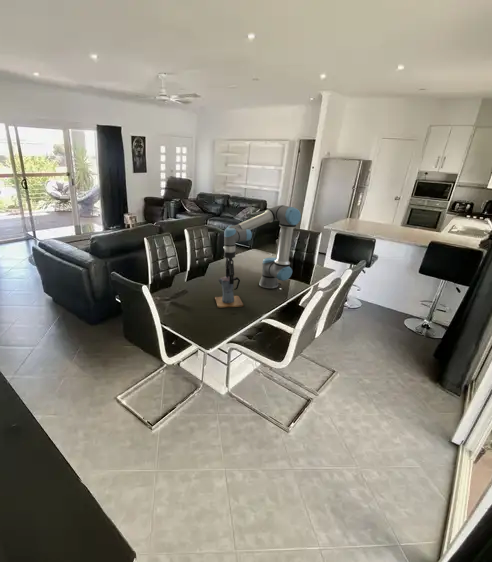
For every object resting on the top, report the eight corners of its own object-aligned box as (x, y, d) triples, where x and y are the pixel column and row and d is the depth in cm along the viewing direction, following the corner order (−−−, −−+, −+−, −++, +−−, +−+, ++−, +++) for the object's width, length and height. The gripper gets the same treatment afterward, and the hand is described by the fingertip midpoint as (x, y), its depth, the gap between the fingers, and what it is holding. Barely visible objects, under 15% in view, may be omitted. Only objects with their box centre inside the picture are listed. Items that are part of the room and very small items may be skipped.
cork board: (238, 297, 241) (238, 295, 240) (243, 306, 226) (243, 304, 225) (214, 298, 239) (214, 296, 238) (218, 307, 224) (218, 306, 224)
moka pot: (217, 298, 236) (217, 273, 228) (237, 297, 237) (238, 272, 229) (218, 304, 227) (219, 277, 220) (240, 303, 228) (241, 276, 221)
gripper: (221, 246, 229) (221, 274, 237) (227, 257, 206) (227, 287, 214) (231, 246, 230) (231, 273, 238) (239, 256, 207) (238, 286, 215)
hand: (229, 280), depth 226 cm, fingers open, 13 cm apart
